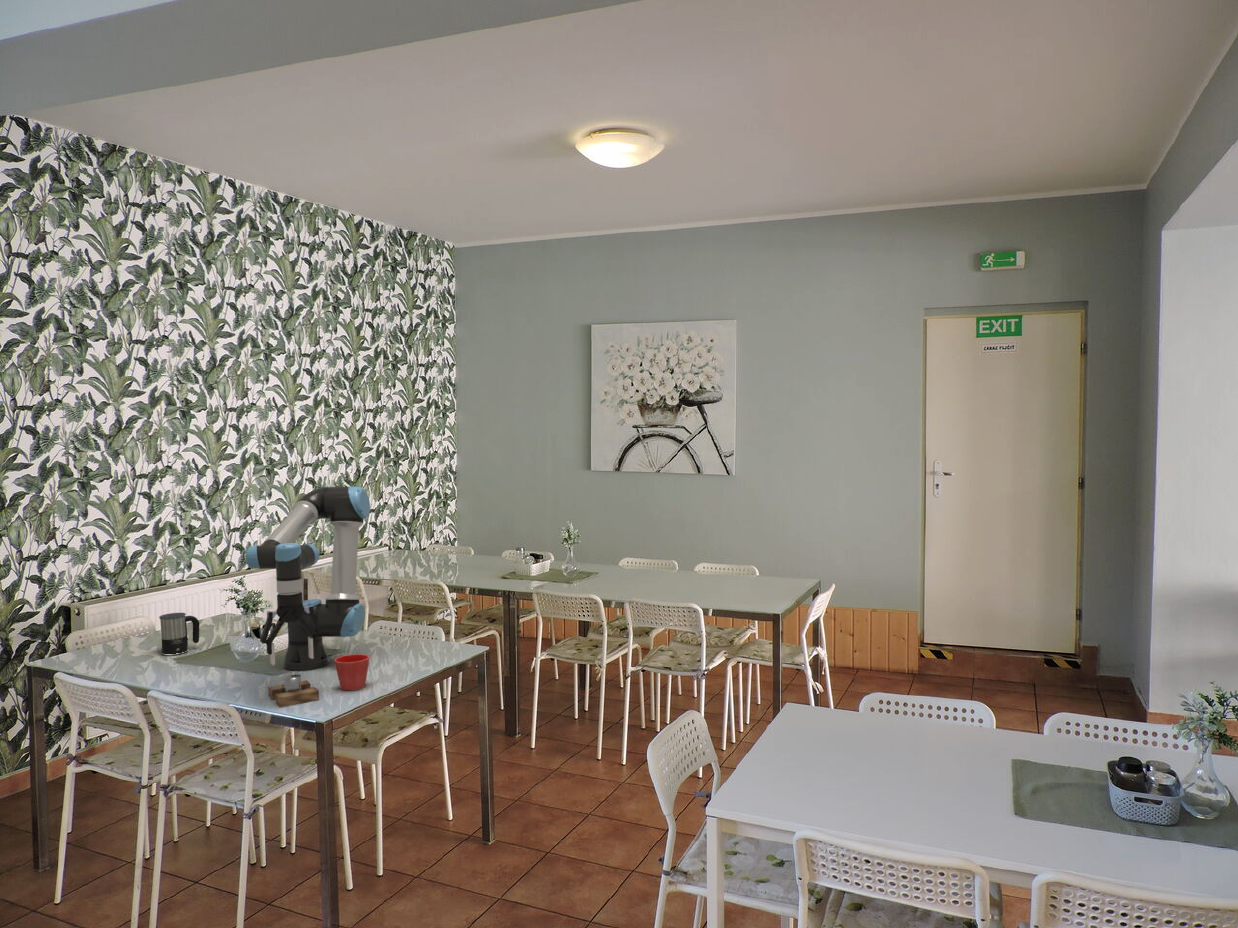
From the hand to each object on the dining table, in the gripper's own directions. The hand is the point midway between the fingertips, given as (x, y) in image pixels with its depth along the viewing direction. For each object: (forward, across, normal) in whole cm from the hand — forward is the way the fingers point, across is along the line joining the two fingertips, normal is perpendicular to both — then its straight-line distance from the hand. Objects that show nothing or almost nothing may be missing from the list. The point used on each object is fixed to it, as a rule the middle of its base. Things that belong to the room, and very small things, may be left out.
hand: (292, 660), depth 281 cm
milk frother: (+12, +21, -91) cm, 94 cm away
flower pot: (+12, -19, 0) cm, 23 cm away
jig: (+12, 0, 0) cm, 12 cm away
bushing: (+12, 0, 0) cm, 12 cm away
